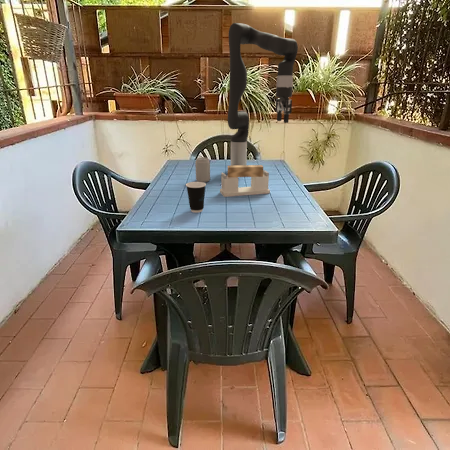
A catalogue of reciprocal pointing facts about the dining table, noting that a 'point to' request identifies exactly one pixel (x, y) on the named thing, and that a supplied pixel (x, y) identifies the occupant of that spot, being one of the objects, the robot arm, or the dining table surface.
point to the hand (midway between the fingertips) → (282, 121)
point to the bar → (245, 171)
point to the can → (202, 169)
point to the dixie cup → (196, 196)
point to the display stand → (231, 187)
